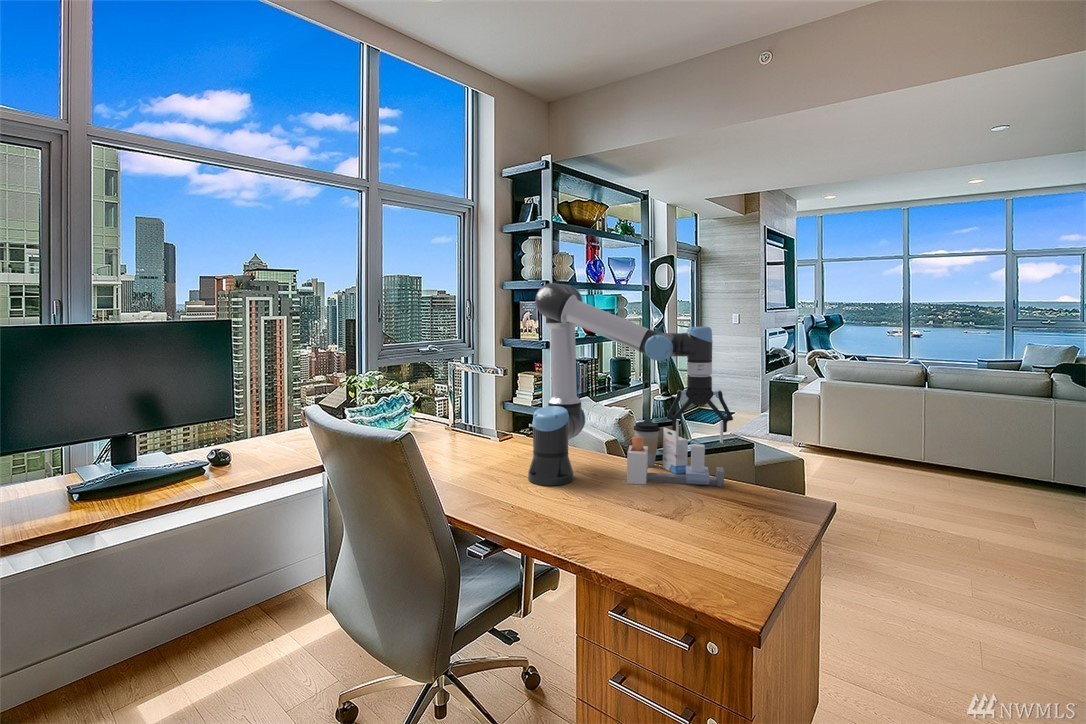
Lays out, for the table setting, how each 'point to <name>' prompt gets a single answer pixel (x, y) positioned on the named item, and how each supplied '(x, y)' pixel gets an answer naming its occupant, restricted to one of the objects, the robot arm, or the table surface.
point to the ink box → (674, 452)
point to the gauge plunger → (637, 443)
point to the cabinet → (637, 465)
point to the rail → (681, 479)
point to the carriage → (697, 466)
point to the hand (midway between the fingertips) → (699, 441)
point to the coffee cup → (648, 438)
